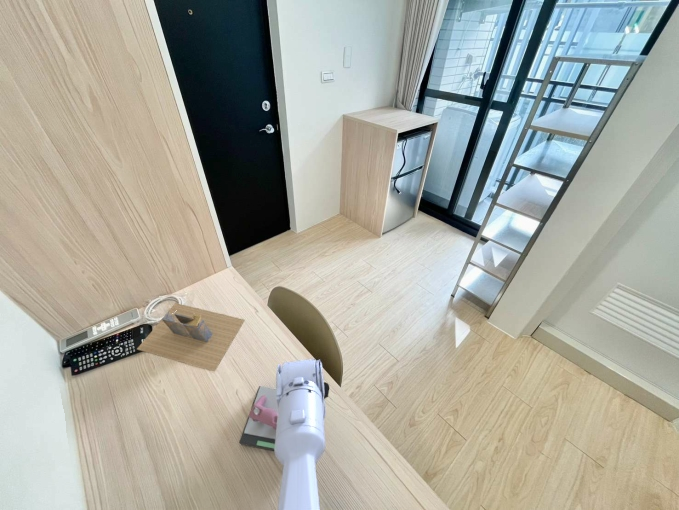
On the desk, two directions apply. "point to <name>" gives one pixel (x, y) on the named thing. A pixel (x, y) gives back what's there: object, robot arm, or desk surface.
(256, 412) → the video game controller
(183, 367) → the desk surface
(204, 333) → the ruin model on sheet
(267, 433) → the scale
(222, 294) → the desk surface
